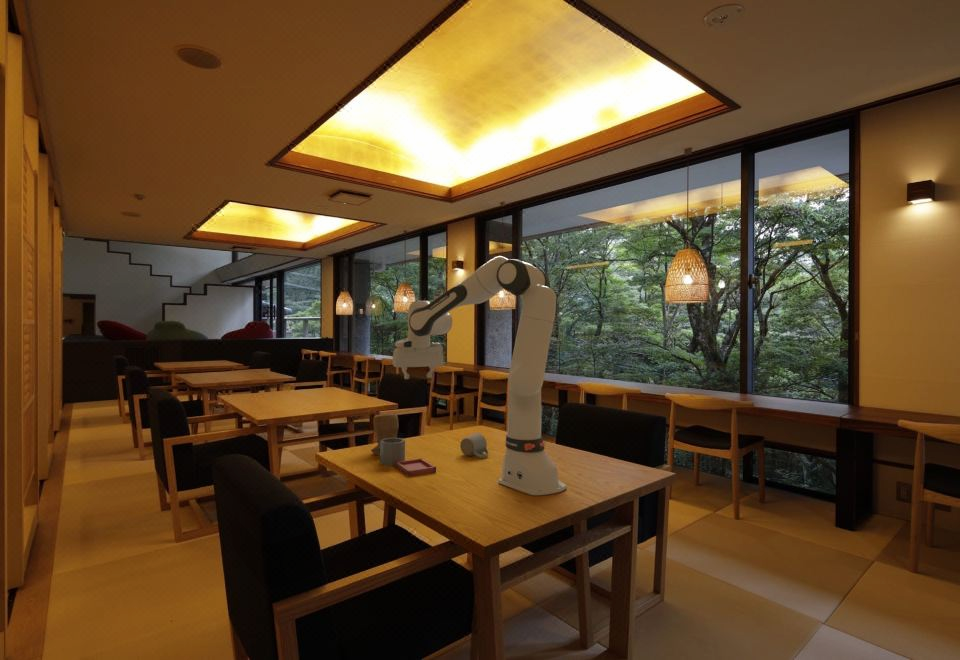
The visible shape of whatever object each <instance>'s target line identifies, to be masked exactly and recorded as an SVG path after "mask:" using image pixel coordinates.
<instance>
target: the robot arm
mask: <svg viewBox="0 0 960 660" xmlns="http://www.w3.org/2000/svg"><path fill="white" fill-rule="evenodd" d="M503 289H504V290H505V291H506V292H508V293H510V294H512V295H514V296H515V297H518V296H519V297H520V298H521V301H522V307H521V312H520V317H519V322H518V327H517V332H516V335H515V341H514V347H513V352H512V357H511V361H510V362H511V363H510V366H509V370H508V375H507V376H508V377H507V382H508V383H507V384H508V385H507V387H508V389H507V391H508V392H507V398H508V399H507V427H506V429H507V433H506V435H505V447H506V450H505V453H504V455H503V458H502V466H501V474H500V475H501V476H500V478H499V479H498V484H500V485H503V486H506V487H509V488H511V489H513V490H516V491H519V492H520V493H521V492H522V493H525V494H527V495H529V496H546V495H553V494H557V493H560V492H563V491H565V490H566V489H567V485H566V484H565V483H563V482H562V481H561V480H559V477H560V476H559V469H558V466H557V464H556V463H555V462H553V460H552V459H551V457H550V456H549V454H547V452H546V450H545V446H547V445H546V444H547V442H546V441H544V439H543V437H542V387H543V384H544V379H545V374H546V367H547V362H548V357H549V356H548V355H549V350H550V349H549V348H550V343H551V339H552V334H553V333H552V332H553V329H554V322H555V318H556V310H557V295H556V292H555V291H554V290H553V289H552V288H551V287H549V279H548V276H547V274H546V273H545V272H544V271H543V270H542V269H540V268H538V267H535V266H534V265H533V264H531V263H529V262H525V261H522V260H520V259H517V258H516V259H515V258H512V259H511V258H507V257H505V256H502V255H498V256H495V257H492V259H490V260H488V261H487V262H485V263H484V264H482V265H481V266H479V267H478V268H477V269H476V270H475V271H473V272H472V273H471V274H470V275H468V276H467V277H466V278H465V279H463V280H462V281H460V282H459V283H457V284H456V285H454V286H453V287H452V288H449V289H448V290H447V291H445V292H444V293H442V294H441V295H439V296H438V297H437V298H435V299H434V300H432V301H431V302H430V301H428V300H416V301H413V302H411V303H410V304H409V307H408V312H407V326H408V331H407V337H406V338H403V339H399V340H396V341H395V342H394V346H395V348H394V350H393V352H392V361H391V362H392V363H391V364H392V365H393V367H394V368H401V371H402V373H403V378H404V380H409V379H410V374H409V373H408V372H407V370H408V368H418V367H419V368H421V367H429V371H428V372H427V373H426V378H427V379H432V378H433V373H434V371H435V369H436V367H442V366H443V365H444V355H443V351H444V346H443V345H442V344H441V343H440V342H431V336H442V335H445V334H447V333H449V332H450V331H451V329H452V326H453V318H452V315H451V314H450V312H452V310H454V309H457V308H459V307H462V306H470V305H471V306H472V305H479V304H483V303H485V302H487V301H488V300H490V299H492V298H493V297H495V295H497V294H499V293H500V292H501V291H502V290H503Z"/></svg>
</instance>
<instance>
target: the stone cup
mask: <svg viewBox="0 0 960 660" xmlns="http://www.w3.org/2000/svg"><path fill="white" fill-rule="evenodd" d="M372 419H373V421H372V423H373V429H374V432H375V435H376V438H377V445H376V446H375V447H373V448H371V450H370V451H371V453H373V454H374V455H376V456H379V457H380V441H381V440H383V439H385V438H398V433H399V423H400V422H399V417H398V414H396V413H395V412H394V413H384V414H375V415H374V416H373V418H372Z"/></svg>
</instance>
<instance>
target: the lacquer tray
mask: <svg viewBox="0 0 960 660" xmlns="http://www.w3.org/2000/svg"><path fill="white" fill-rule="evenodd" d="M394 467H395V468H396V469H397V470H398V471H400V472H402V473H403V474H404V475H406V476H407V477H408V478H410V477H416V476H422V475H426V474H427V475H428V474H434V473H437V466H435V465H434V464H432V463H430V462H428V461H427V460H426V459H424V458H422V457H419V458H414V459H407V460H406V459H405V461H398V462H395V466H394Z"/></svg>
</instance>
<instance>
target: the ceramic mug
mask: <svg viewBox="0 0 960 660" xmlns="http://www.w3.org/2000/svg"><path fill="white" fill-rule="evenodd" d="M487 446H488V445H487V439H486V437H485V436H484V435H483V434H481V433H479V432H477V433H474V434H471V435H468V436H466V437H464V438H463V439H462V440H461V441H460V451H461V452H462V454H464V456H467V457H472V456H476V457H478V458H480V459H486V458H487V457H488V456H489V450H488V449H487V448H488V447H487ZM483 453H485V454H483Z"/></svg>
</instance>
